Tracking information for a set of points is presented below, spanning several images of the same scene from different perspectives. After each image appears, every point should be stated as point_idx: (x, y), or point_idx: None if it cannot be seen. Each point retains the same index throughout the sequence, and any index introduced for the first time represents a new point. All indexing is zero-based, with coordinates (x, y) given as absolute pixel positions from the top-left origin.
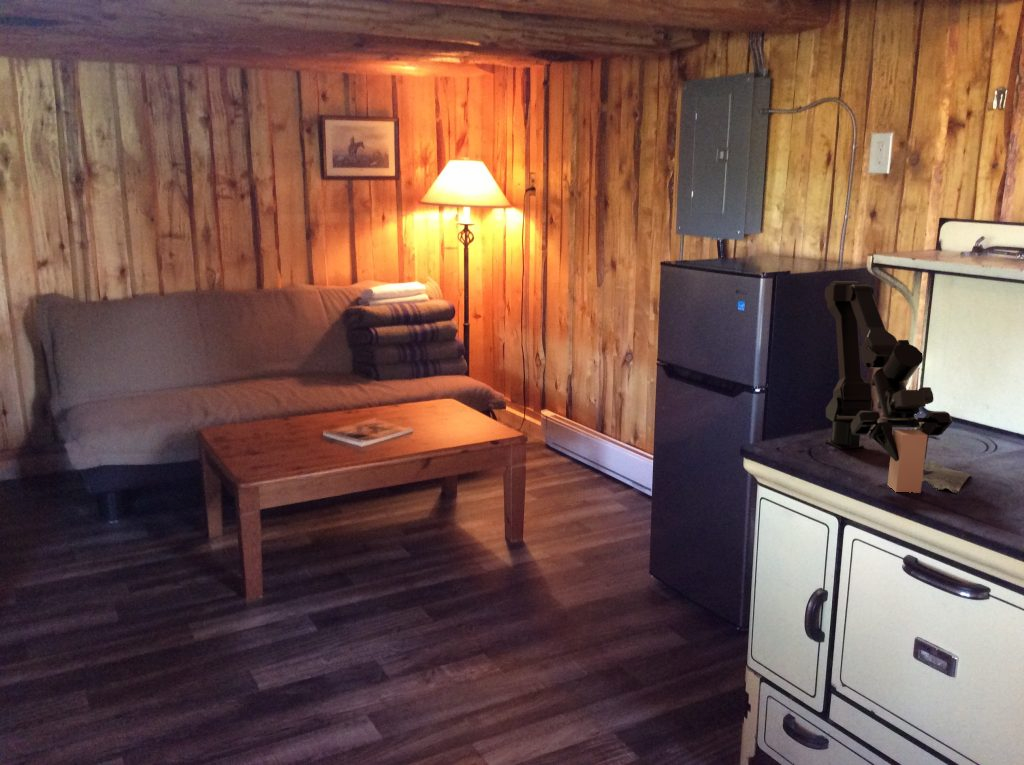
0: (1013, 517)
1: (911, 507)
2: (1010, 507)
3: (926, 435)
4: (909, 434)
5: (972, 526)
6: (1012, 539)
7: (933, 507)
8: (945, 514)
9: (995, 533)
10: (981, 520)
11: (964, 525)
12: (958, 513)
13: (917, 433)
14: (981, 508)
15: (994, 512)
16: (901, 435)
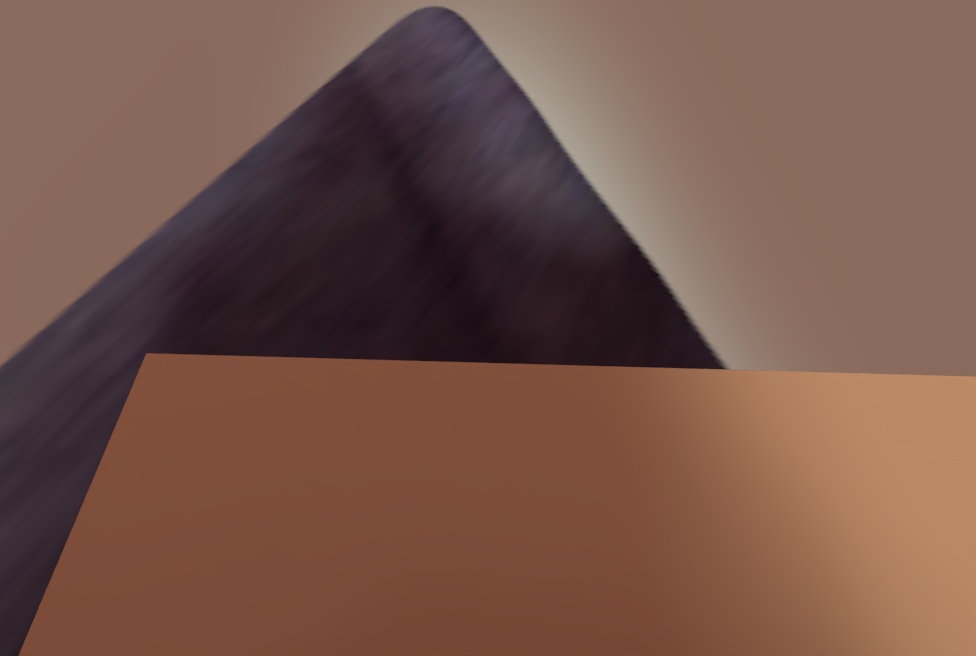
0: (219, 182)
1: (622, 283)
2: (117, 283)
3: (185, 354)
4: (695, 434)
5: (459, 105)
6: (396, 29)
7: (502, 283)
8: (494, 205)
9: (417, 62)
10: (379, 153)
11: (485, 112)
12: (425, 216)
13: (324, 563)
14: (267, 272)
15: (250, 228)
16: (973, 456)
